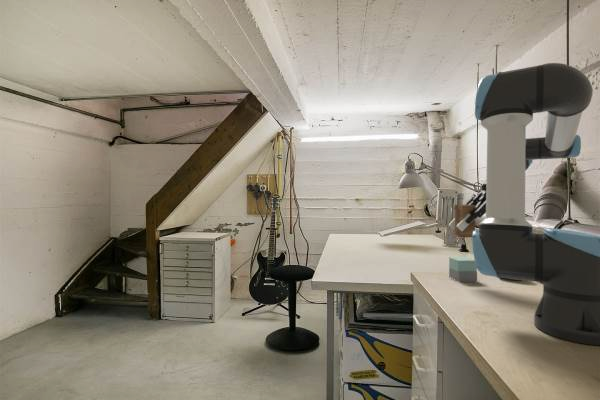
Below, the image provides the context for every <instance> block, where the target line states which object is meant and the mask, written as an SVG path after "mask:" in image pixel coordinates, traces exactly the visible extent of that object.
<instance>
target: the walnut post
mask: <svg viewBox="0 0 600 400" xmlns="http://www.w3.org/2000/svg"><path fill="white" fill-rule="evenodd" d="M474 208H475V205H464V204H454V218H455V229H454V236H455V237H459V238H472V233H473V231H475V230H476V219H474V220H473V221H472V222H471V223H470V224H469V225H468V226H467V227H466V228H465V229H464V230H463V231H461V230H460V229H459V228H458V227H457V225H458V224H459V223H460V222H461V221H462V220H463V219H464V218H465V217H466V216H467V215H468V214H470V213H469V212H470V211H473V209H474ZM470 215H471V214H470Z"/></svg>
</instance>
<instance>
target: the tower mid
mask: <svg viewBox="0 0 600 400" xmlns="http://www.w3.org/2000/svg"><path fill="white" fill-rule="evenodd" d="M448 261H449V263H448V269H449V268H452V269H454V270H456V271H477V272H478V269H477V267H476V264H475V259H474V258H470V257H466V256H464V257H463V256H459V257H458V256H457V257H453V256H452V257H451V256H449V259H448Z"/></svg>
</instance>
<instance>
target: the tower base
mask: <svg viewBox="0 0 600 400" xmlns="http://www.w3.org/2000/svg"><path fill="white" fill-rule="evenodd" d="M448 269H449V270H448V277H449V278H450V277H451V278H450V279H452V278H453V279H452V280H454V279H455V280H454V281H456V280H457V281H456V282H458V281H459V283H460V282H461V281H462V282H461V283H468V282H470V283H471V282H472V283H473V282H478V270H477V271H456V270H454V269H452V268H449V267H448Z"/></svg>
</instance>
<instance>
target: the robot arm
mask: <svg viewBox="0 0 600 400" xmlns="http://www.w3.org/2000/svg"><path fill="white" fill-rule="evenodd" d="M592 98H593V86H592V84H591V81H590V80H589V78H588V77H587V76H586V74H585V73H583V72H582V71H581V70H579V69H578V68H577V67H574V66H572V65H569V64H565V63H562V62H561V63H560V62H549V63H543V64H539V65H533V66H527V67H524V68H523V67H522V68H517V69H511V70H507V71H498V72H497V73H492V74H488V75H486V76H483V77H482V78H481V79H480V81H479V83H478V86H477V90H476V94H475V101H474V104H475V107H474V117H475V119H476V120H477V121H481V122H480V125H481V126H482V127H483V128H484V129H486V131H487V133H486V135H487V136H486V137H487V140H486V142H487V143H486V180H485V181H484V182H483V183H482V185H481V189H482V191H480V192H478V193H477V194H475V193H473V194H472V195H471V196H470V197H469V199H468V200H467V201H466V202H465V203H464V204H463V205H475V208H474V209H473V211H470V212H469V213H470V214H471V215H470V214H468V215H467V216H466V217H465V218H464V219H463V220H462V221H461V222H460V223H459V224H458V225H457V227H458V228H459V229H460V230H461V231H463V230H464V229H465V228H466V227H467V226H468V225H469V224H470V223H471V222H472V221H473V220H474V219H475V220H476V219H477V218H479V219H481V218H482V217H483V216H484V215H485V218H483V220H482V221H481V222H479V223H478V229H475V231H473V233H472V237H471V239H472V240H471V242H472V252H473V259H474V260H475V264H476V267H477V272H479V273H480V274H481V275H484V276H488V277H493V278H497V279H505V278H509V279H508V280H512V279H518V280H517V281H527V282H529V281H530V282H537V283H543V285H542V286H543V292H542V296H541V298H540V301H539V303H538V305H537V307H536V309H535V312H534V317H533V321H534V322H533V324H534V326H535V327H536V328H537V329H539V330H540V331H541V332H543V333H546V334H548V335H550V336H553V337H555V338H559V339H562V340H567V341H570V342H573V343H579V344H584V345H593V346H600V235H597V234H591V233H587V232H581V231H575V230H568V229H562V228H552V227H545V228H543V231H542V233H533V225H532V224H531V223H530V222H529V221H528V220H527V219H526V171H527V170H528V169H529V167H530V166H531V165H532V163H533V160H535V161H536V160H553V159H555V160H556V159H568V158H569V159H570V158H577V157H578V156H580V154H581V149H582V139H581V136H580V135H579V134H577V132H578V128H579V124H580V121H581V118H582V114H583V112H584V111H585V110H587V108H588V107H589V105H590V103H591V101H592ZM545 112H547V116H546V118H547V119H546V126H545V127H546V129H545V136H544V137H542V136H541V137H532V138H531V137H530V138H526V135H527V134H526V133H527V132H526V131H527V130H526V127H527V126H528V125H529V124H531V122H532V121H533V119H534V114H537V113H545ZM448 226H449V227H450V228H451V230H453V231H455V217H454V218H453V219H452V220H451V221H450V222H449V224H448ZM500 277H501V278H500Z"/></svg>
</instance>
